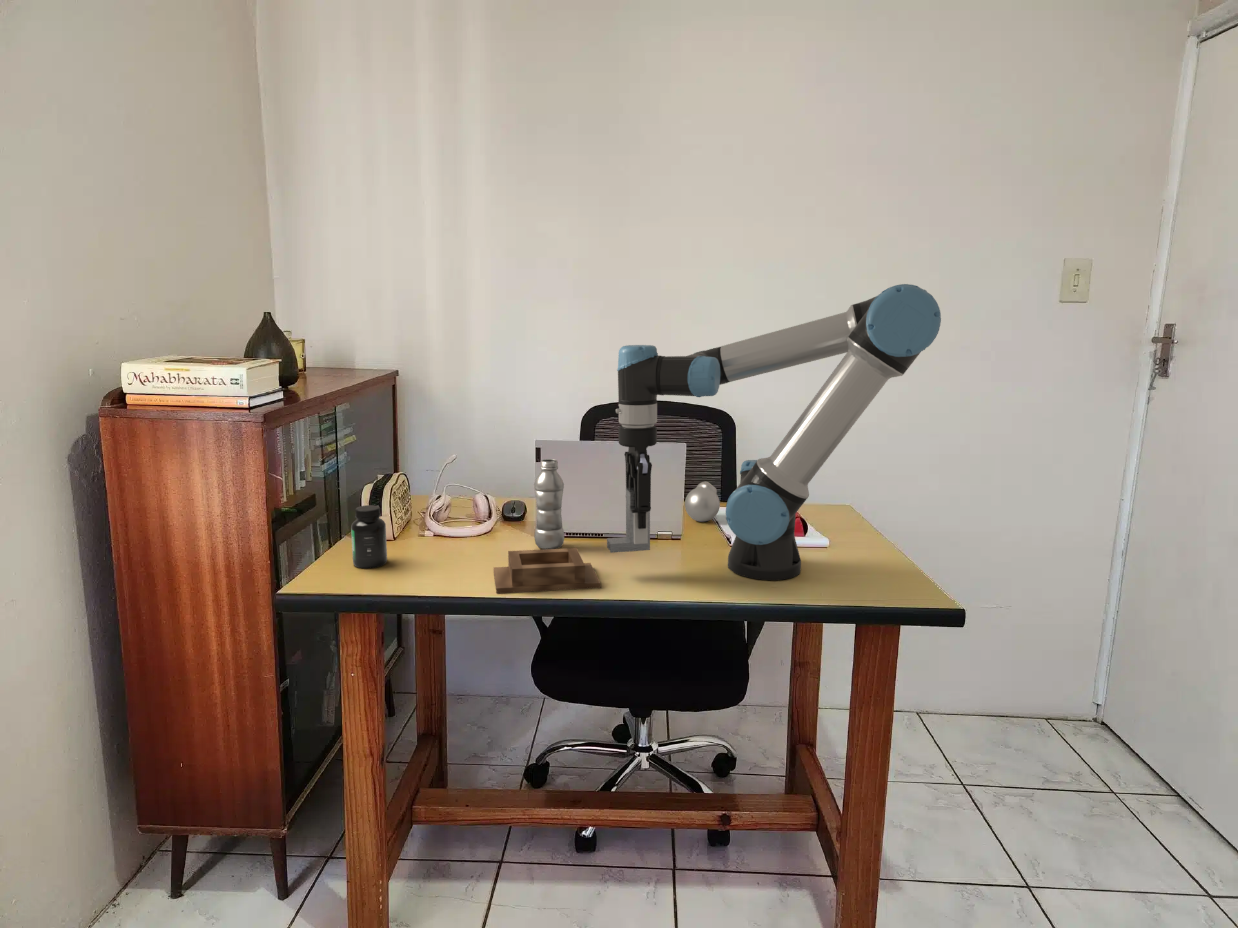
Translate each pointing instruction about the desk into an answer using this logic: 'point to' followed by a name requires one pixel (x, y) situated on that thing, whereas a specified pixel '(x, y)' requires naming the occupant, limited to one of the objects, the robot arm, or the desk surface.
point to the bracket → (628, 530)
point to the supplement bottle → (368, 538)
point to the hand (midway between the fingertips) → (638, 539)
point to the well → (544, 571)
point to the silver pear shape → (702, 502)
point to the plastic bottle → (549, 506)
